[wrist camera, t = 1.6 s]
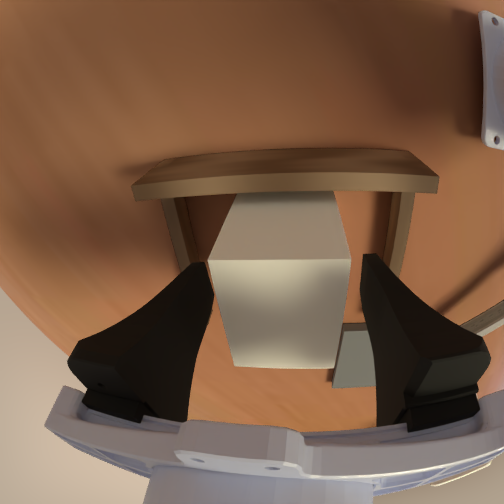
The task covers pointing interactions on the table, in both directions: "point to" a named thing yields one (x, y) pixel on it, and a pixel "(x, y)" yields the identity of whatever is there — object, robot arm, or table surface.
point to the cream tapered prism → (282, 279)
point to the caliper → (486, 320)
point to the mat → (354, 358)
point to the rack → (288, 185)
